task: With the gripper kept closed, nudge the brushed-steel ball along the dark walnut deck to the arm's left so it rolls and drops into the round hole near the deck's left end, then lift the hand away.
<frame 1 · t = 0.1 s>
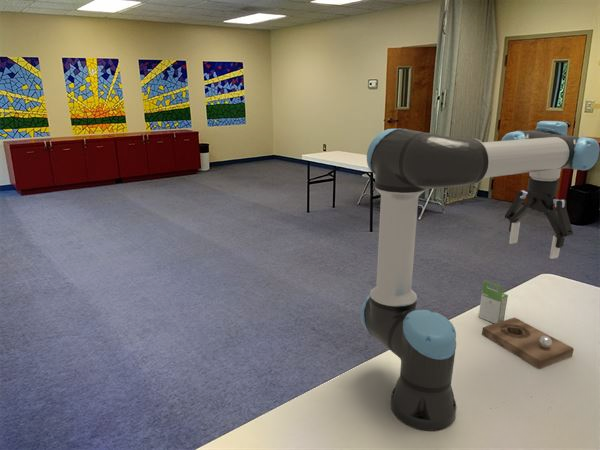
hand: (532, 250, 135), 28 cm above the table, fingers open, 13 cm apart
ink box: (491, 320, 152), on the table
ball: (545, 342, 131), point 4 cm above the table, touching deck
deck: (525, 344, 138), on the table
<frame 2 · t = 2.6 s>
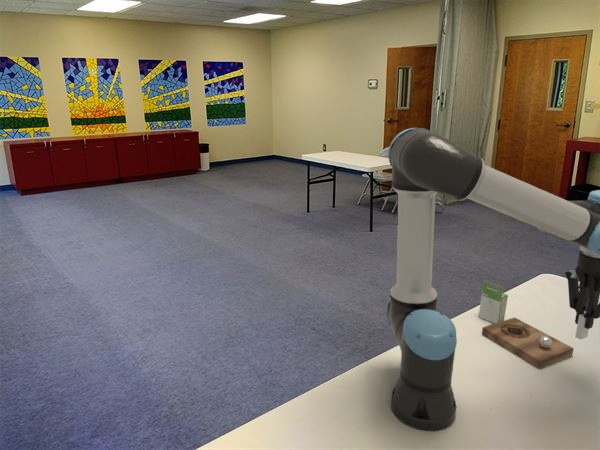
hand: (581, 336, 122), 11 cm above the table, fingers closed
nothing on the table moved.
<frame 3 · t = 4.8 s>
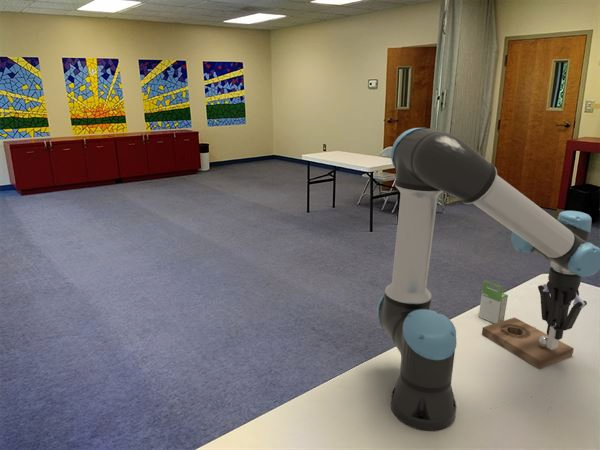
hand: (552, 347, 130), 4 cm above the table, fingers closed
ball: (544, 341, 132), point 4 cm above the table, tilted 8°, touching deck, gripper
everything else where it was.
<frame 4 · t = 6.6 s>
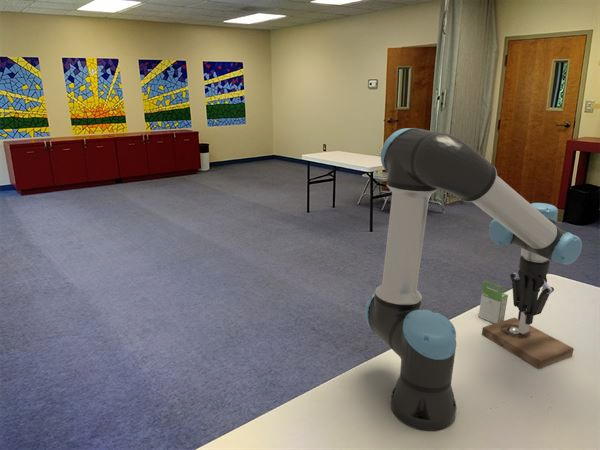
hand: (523, 331, 138), 4 cm above the table, fingers closed
ball: (513, 332, 141), point 2 cm above the table, tilted 18°
everything else where it was.
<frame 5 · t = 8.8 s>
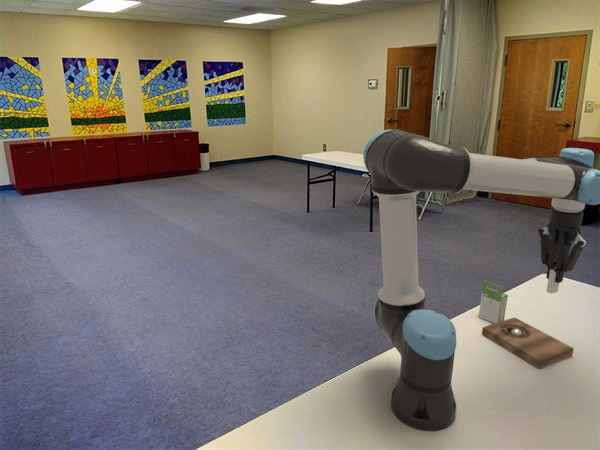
hand: (552, 291, 127), 20 cm above the table, fingers closed
ball: (516, 334, 140), point 2 cm above the table, tilted 28°
everything else where it was.
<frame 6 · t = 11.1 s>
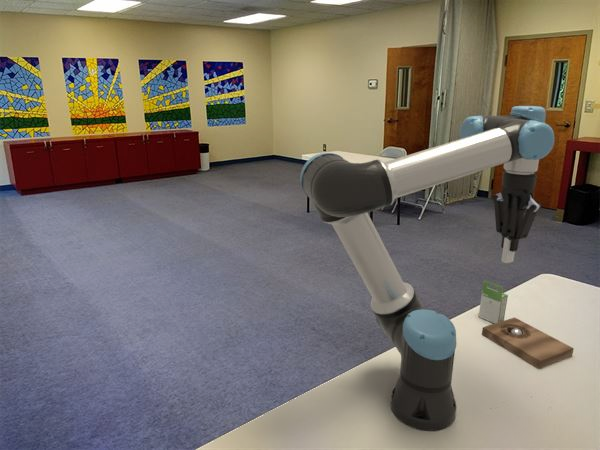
hand: (507, 261, 120), 30 cm above the table, fingers closed
nothing on the table moved.
at the end: ball 0.5 cm from the target spot in the deck, point 1.7 cm above the deck's base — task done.
